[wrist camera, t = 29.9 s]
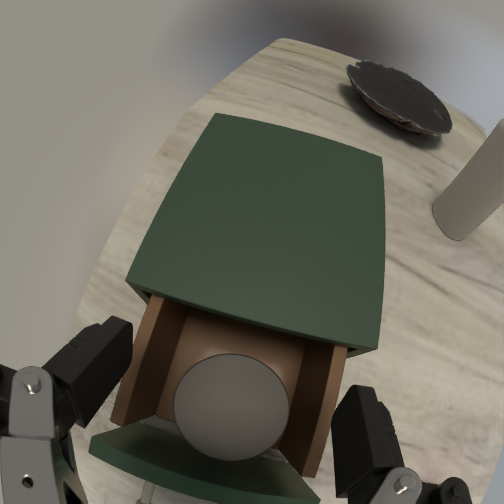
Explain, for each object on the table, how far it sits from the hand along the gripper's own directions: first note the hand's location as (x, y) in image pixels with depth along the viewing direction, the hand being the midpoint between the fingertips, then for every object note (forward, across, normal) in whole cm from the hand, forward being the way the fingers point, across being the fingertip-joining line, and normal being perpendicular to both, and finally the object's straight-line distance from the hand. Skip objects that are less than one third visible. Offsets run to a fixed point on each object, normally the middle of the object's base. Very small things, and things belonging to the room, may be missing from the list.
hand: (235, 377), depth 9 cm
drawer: (+7, 0, +11) cm, 13 cm away
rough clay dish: (+43, -16, -24) cm, 52 cm away
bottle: (+27, -23, -8) cm, 36 cm away
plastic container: (+7, 0, +9) cm, 11 cm away
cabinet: (+17, 0, +2) cm, 17 cm away
